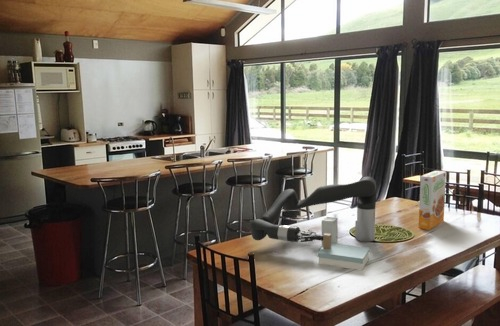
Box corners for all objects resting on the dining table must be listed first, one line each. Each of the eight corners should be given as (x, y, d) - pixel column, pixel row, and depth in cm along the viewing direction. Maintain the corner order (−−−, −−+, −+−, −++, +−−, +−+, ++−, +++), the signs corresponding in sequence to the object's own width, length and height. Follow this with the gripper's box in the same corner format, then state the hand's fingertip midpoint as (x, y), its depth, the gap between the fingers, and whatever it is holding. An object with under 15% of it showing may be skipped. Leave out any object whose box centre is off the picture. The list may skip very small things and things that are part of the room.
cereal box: (429, 229, 254) (432, 177, 249) (418, 227, 258) (420, 176, 254) (443, 220, 271) (446, 171, 266) (432, 219, 275) (435, 170, 270)
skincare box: (332, 250, 224) (332, 221, 221) (320, 248, 227) (321, 220, 224) (337, 245, 231) (338, 217, 228) (326, 243, 234) (326, 216, 231)
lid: (317, 257, 206) (317, 238, 205) (327, 246, 220) (327, 229, 219) (362, 263, 198) (363, 244, 196) (369, 252, 212) (370, 234, 210)
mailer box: (318, 263, 207) (318, 254, 207) (327, 253, 220) (327, 244, 219) (362, 270, 199) (362, 260, 198) (368, 259, 211) (369, 250, 211)
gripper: (283, 229, 213) (319, 234, 205) (293, 222, 225) (327, 226, 217) (283, 245, 214) (319, 250, 207) (293, 237, 226) (327, 241, 218)
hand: (323, 238), depth 212 cm, fingers closed
